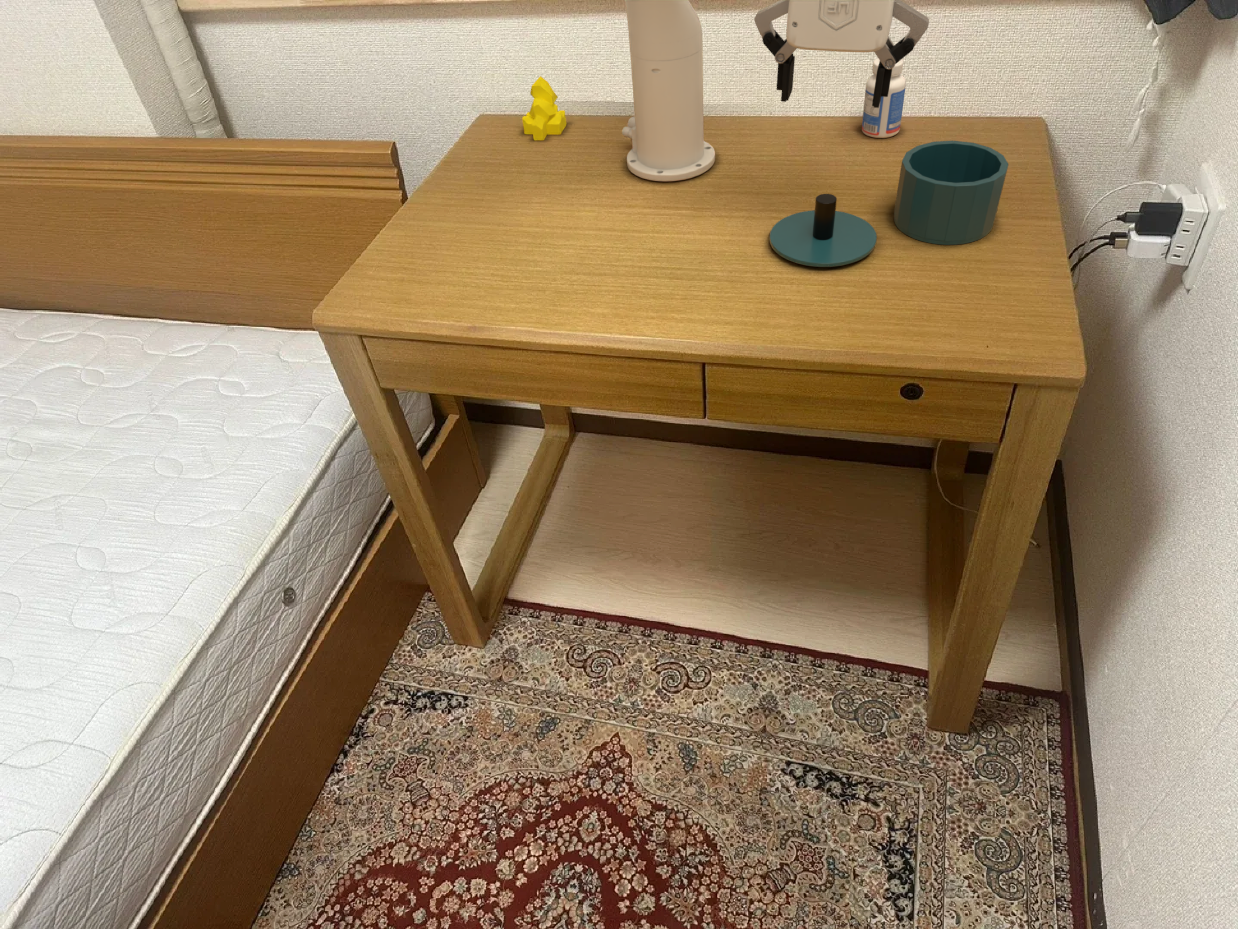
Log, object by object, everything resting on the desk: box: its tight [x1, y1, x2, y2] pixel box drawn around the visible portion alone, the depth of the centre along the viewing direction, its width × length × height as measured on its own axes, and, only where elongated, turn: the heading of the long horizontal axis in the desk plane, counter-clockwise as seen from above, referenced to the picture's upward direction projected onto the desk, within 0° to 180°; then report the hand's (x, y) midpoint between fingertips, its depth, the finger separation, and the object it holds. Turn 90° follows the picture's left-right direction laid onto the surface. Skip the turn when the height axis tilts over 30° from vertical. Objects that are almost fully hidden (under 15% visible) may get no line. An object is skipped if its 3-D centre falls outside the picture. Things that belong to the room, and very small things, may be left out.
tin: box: [893, 140, 1009, 246], centre depth 102 cm, size 12×12×8 cm
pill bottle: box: [861, 57, 907, 139], centre depth 121 cm, size 6×5×10 cm
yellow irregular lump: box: [521, 75, 567, 141], centre depth 132 cm, size 6×8×8 cm
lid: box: [769, 193, 878, 268], centre depth 101 cm, size 13×13×6 cm
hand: (831, 99), depth 92 cm, fingers open, 9 cm apart
